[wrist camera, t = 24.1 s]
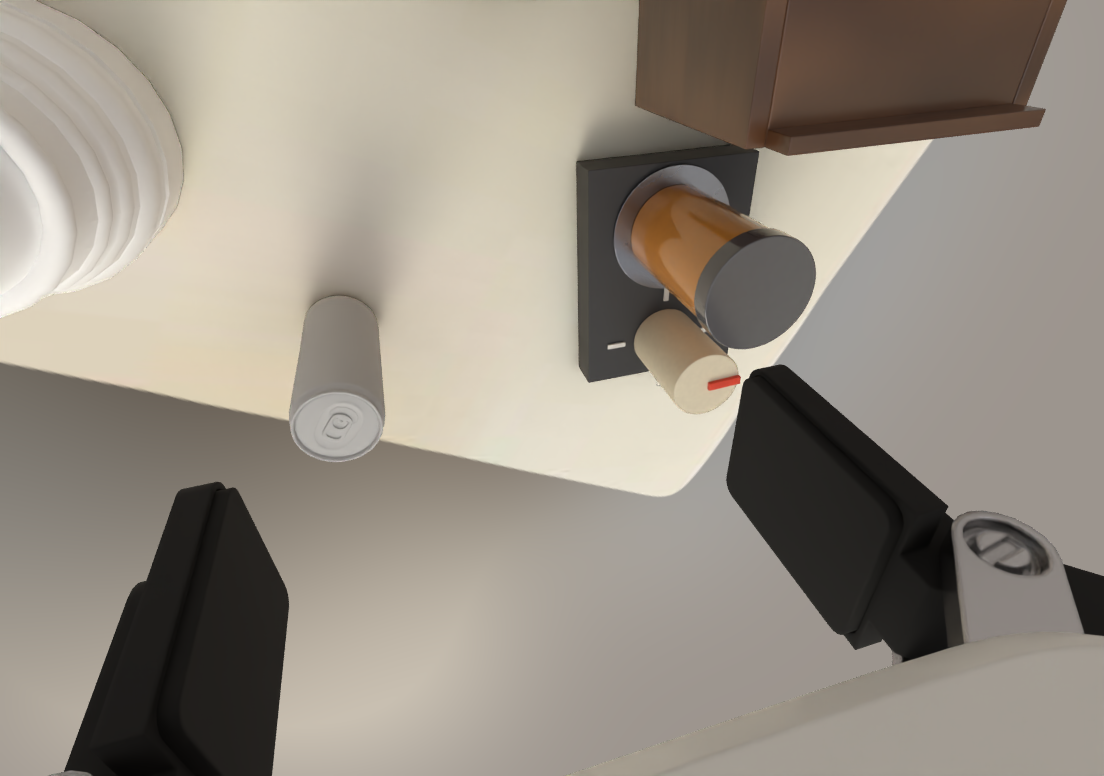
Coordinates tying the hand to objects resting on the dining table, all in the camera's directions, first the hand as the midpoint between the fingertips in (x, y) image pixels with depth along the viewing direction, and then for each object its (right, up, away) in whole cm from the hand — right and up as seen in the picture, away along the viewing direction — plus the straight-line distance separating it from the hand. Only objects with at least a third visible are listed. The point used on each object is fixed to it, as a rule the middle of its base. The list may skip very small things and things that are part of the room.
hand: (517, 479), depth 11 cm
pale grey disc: (+9, +13, +29) cm, 33 cm away
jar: (+9, +12, +29) cm, 33 cm away
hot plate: (+8, +11, +33) cm, 36 cm away
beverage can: (-14, +6, +29) cm, 33 cm away
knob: (+9, +6, +34) cm, 36 cm away
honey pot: (-26, +15, +19) cm, 35 cm away
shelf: (+13, +25, +25) cm, 38 cm away
